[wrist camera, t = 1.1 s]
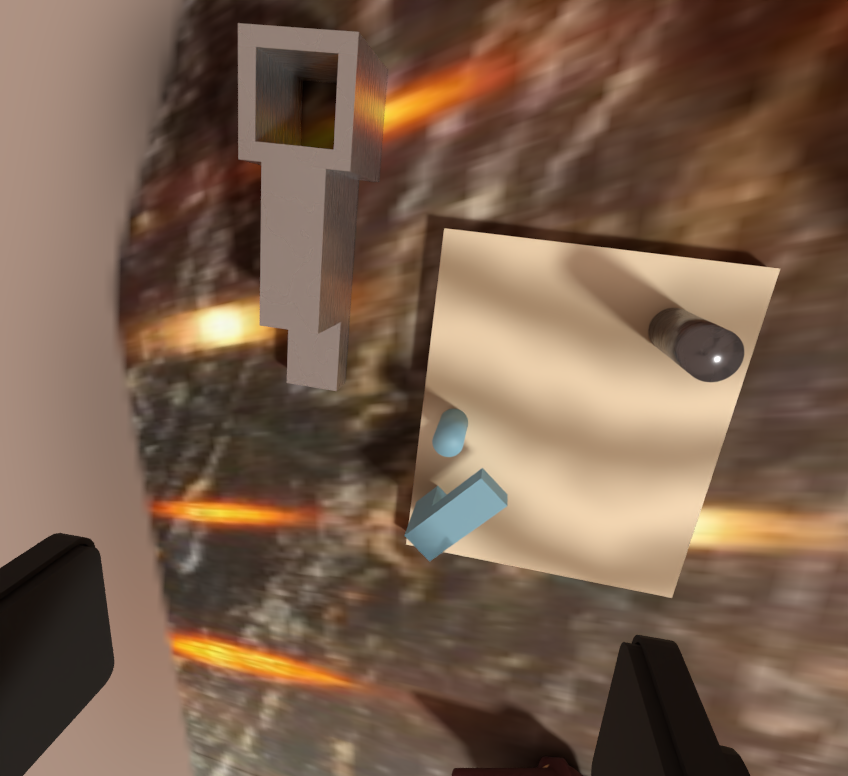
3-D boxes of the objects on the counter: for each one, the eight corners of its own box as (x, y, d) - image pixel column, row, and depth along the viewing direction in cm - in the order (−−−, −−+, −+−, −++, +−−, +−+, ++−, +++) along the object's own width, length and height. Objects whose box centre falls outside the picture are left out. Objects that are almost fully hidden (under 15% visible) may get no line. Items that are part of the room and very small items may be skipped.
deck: (447, 228, 27) (444, 228, 26) (767, 267, 25) (780, 268, 24) (409, 533, 33) (406, 544, 32) (666, 584, 31) (671, 597, 30)
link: (288, 61, 26) (237, 23, 21) (387, 69, 25) (358, 32, 20) (280, 372, 31) (238, 398, 26) (362, 385, 30) (335, 414, 25)
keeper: (457, 396, 29) (447, 426, 25) (515, 459, 30) (515, 499, 25) (385, 456, 31) (363, 494, 27) (441, 514, 32) (429, 561, 27)
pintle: (654, 304, 25) (692, 324, 20) (700, 310, 25) (752, 332, 19) (643, 347, 26) (677, 377, 20) (688, 354, 25) (734, 386, 20)
